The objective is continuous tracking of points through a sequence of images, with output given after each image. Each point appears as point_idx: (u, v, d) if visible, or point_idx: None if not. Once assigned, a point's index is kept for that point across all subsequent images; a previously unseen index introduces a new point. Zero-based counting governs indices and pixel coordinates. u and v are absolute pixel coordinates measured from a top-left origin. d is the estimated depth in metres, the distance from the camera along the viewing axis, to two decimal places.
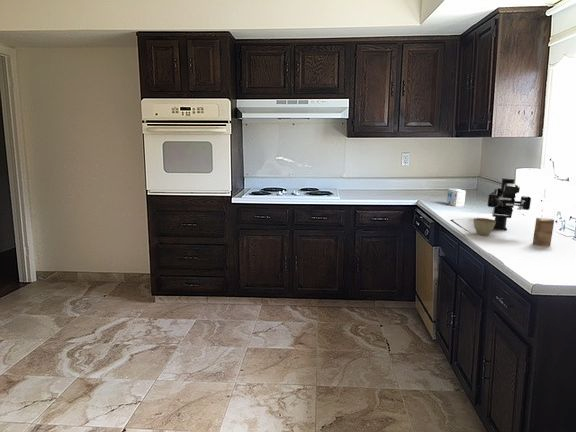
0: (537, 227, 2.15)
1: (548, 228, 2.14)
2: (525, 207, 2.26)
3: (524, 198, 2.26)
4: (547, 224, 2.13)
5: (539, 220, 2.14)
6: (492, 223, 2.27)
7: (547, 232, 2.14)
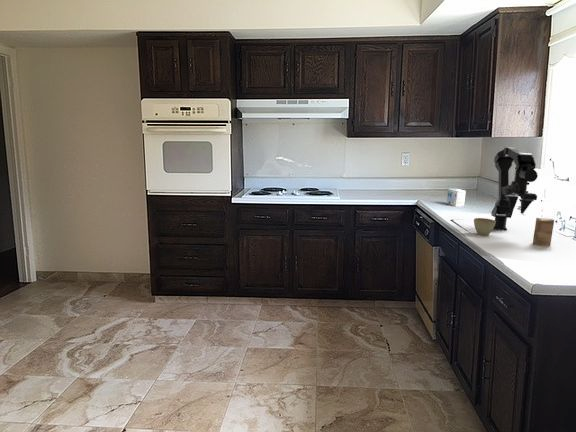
0: (537, 227, 2.15)
1: (548, 228, 2.14)
2: (531, 201, 2.21)
3: (521, 200, 2.22)
4: (547, 224, 2.13)
5: (539, 220, 2.14)
6: (492, 223, 2.27)
7: (547, 232, 2.14)
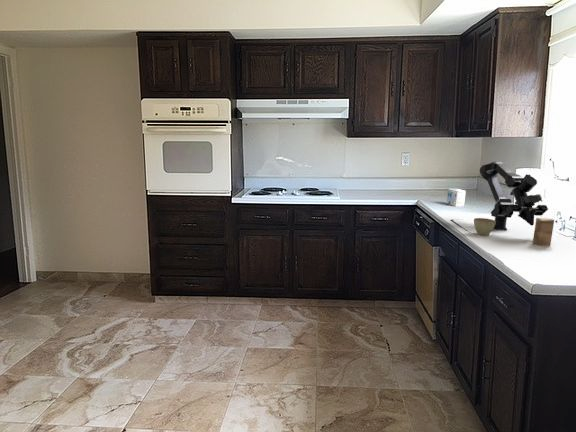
0: (537, 227, 2.15)
1: (548, 228, 2.14)
2: None
3: (534, 211, 2.25)
4: (547, 224, 2.13)
5: (539, 220, 2.14)
6: (492, 223, 2.27)
7: (547, 232, 2.14)
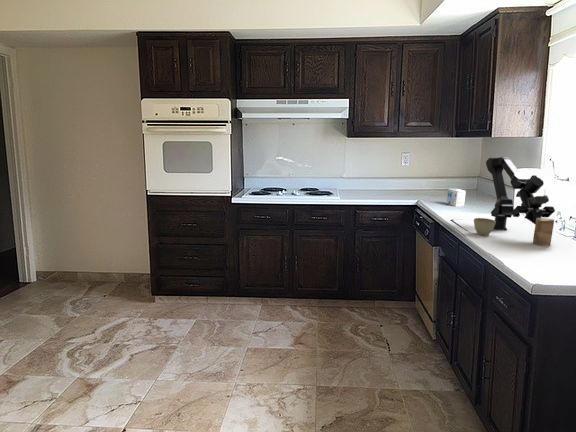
0: (537, 227, 2.15)
1: (548, 228, 2.14)
2: None
3: (541, 212, 2.20)
4: (547, 224, 2.13)
5: (539, 220, 2.14)
6: (492, 223, 2.27)
7: (547, 232, 2.14)
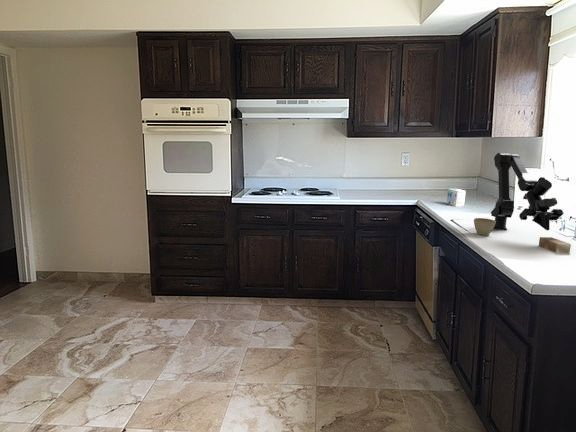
0: (551, 245, 2.06)
1: None
2: None
3: (549, 215, 2.14)
4: None
5: (556, 248, 2.03)
6: (492, 223, 2.27)
7: None
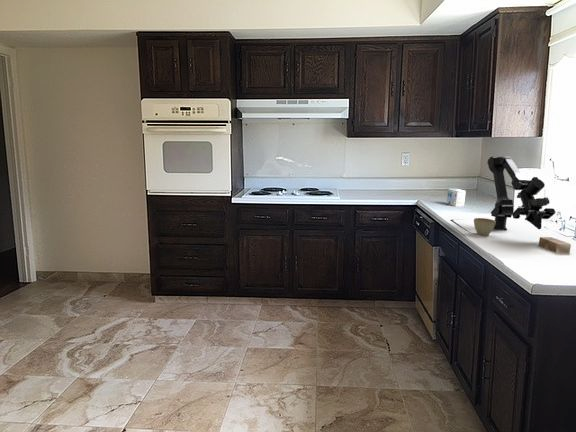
0: (551, 245, 2.06)
1: None
2: None
3: (542, 214, 2.20)
4: None
5: (556, 248, 2.03)
6: (492, 223, 2.27)
7: None
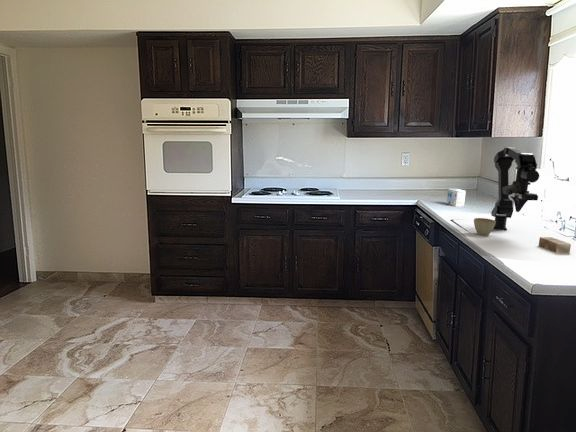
0: (551, 245, 2.06)
1: None
2: (526, 199, 2.25)
3: (517, 199, 2.26)
4: None
5: (556, 248, 2.03)
6: (492, 223, 2.27)
7: None
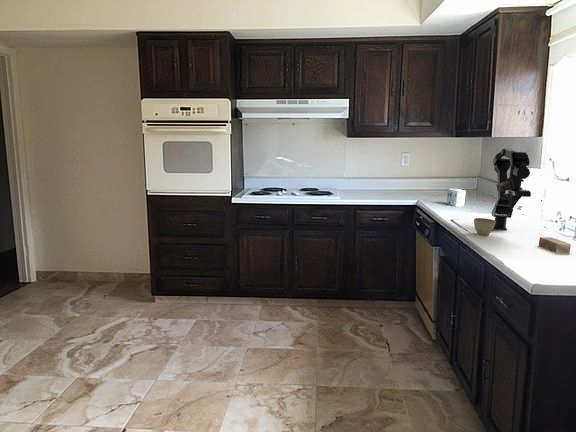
0: (551, 245, 2.06)
1: None
2: (520, 196, 2.29)
3: (510, 196, 2.29)
4: None
5: (556, 248, 2.03)
6: (492, 223, 2.27)
7: None
